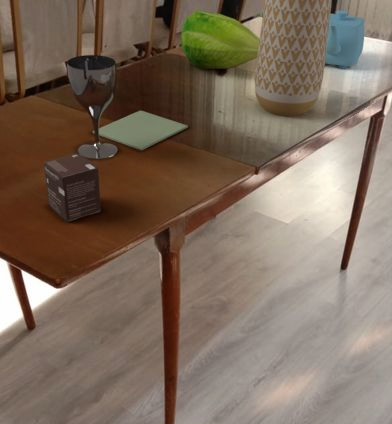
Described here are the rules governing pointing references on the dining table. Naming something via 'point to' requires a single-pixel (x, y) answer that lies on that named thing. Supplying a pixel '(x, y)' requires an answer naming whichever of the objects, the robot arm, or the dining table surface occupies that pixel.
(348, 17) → the teapot
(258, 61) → the vase
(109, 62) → the wine glass
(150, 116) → the mat
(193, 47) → the lettuce
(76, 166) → the box
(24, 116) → the dining table surface
